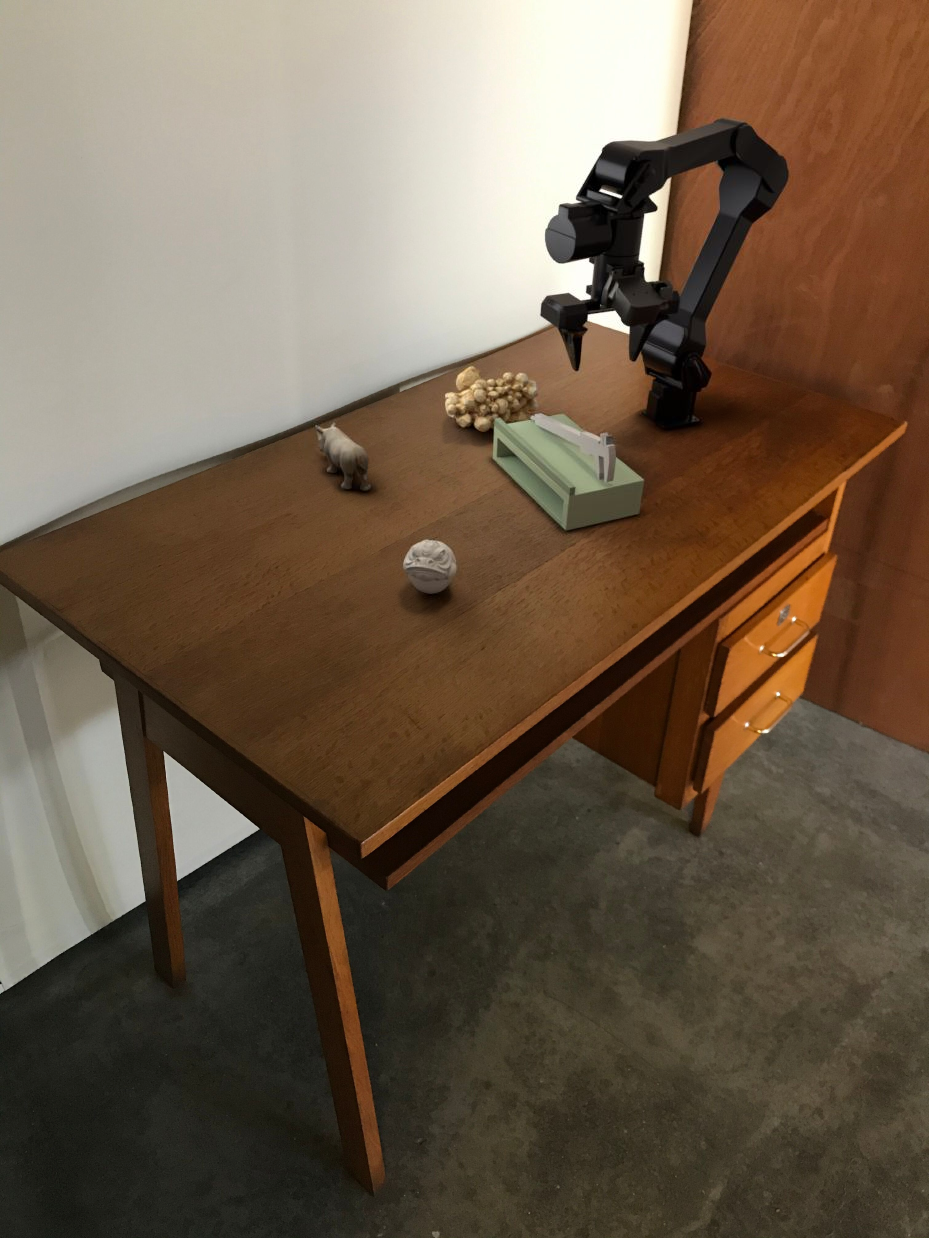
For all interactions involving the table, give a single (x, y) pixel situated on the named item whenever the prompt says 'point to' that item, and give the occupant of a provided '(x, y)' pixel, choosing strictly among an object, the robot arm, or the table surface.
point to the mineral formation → (491, 399)
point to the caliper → (585, 444)
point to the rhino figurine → (343, 455)
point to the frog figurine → (430, 566)
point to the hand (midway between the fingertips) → (604, 365)
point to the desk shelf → (564, 475)
